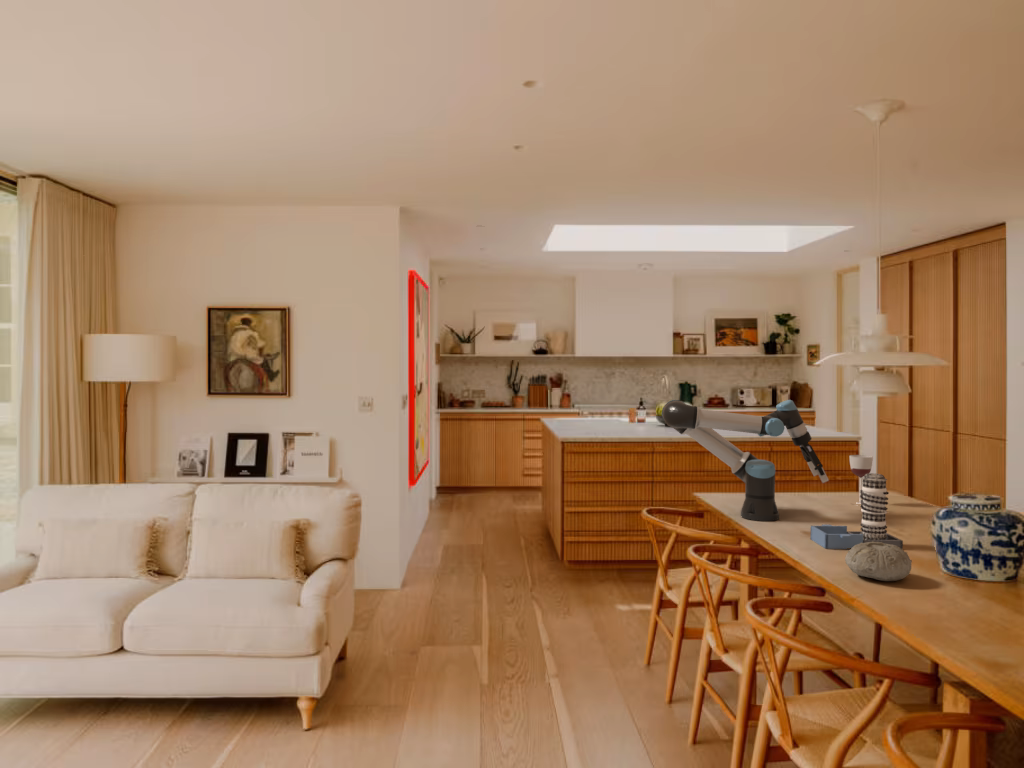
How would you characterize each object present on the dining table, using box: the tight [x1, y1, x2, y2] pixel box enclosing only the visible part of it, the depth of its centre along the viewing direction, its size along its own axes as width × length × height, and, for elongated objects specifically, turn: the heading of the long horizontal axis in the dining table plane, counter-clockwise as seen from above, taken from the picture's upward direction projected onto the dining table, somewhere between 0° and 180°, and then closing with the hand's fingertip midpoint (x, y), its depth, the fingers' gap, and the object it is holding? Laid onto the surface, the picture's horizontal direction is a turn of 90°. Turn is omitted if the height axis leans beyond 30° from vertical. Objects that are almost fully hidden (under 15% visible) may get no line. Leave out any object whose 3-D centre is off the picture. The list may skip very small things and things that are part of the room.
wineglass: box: [849, 454, 874, 504], centre depth 330 cm, size 9×10×22 cm
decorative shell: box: [844, 541, 913, 582], centre depth 218 cm, size 18×18×10 cm
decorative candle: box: [859, 472, 890, 540], centre depth 257 cm, size 9×9×25 cm
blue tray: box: [809, 524, 863, 550], centre depth 257 cm, size 13×18×5 cm
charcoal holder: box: [847, 530, 904, 550], centre depth 257 cm, size 14×14×3 cm
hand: (821, 478), depth 312 cm, fingers open, 13 cm apart
